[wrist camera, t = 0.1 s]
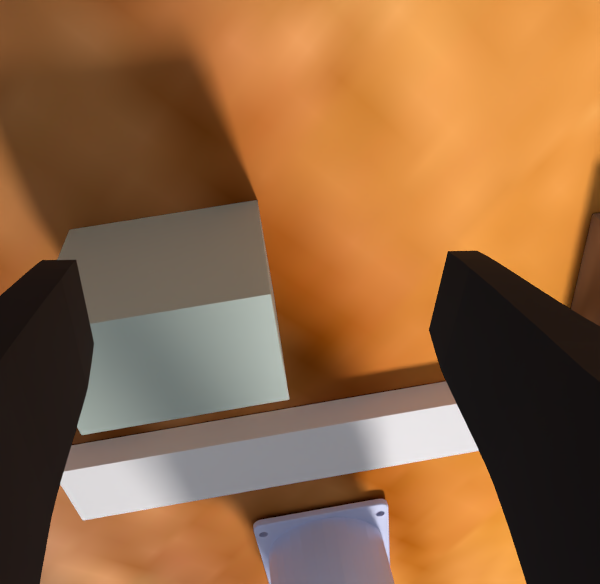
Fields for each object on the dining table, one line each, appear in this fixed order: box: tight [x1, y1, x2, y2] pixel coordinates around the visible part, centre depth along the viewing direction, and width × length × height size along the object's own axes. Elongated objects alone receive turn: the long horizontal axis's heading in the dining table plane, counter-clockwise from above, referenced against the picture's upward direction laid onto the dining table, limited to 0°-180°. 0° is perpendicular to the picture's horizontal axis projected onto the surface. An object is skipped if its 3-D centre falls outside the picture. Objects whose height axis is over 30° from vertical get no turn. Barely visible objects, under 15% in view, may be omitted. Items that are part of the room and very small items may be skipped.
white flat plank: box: [60, 381, 479, 520], centre depth 29 cm, size 4×28×2 cm, turn 97°
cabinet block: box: [57, 200, 289, 435], centre depth 20 cm, size 4×7×6 cm, turn 97°
